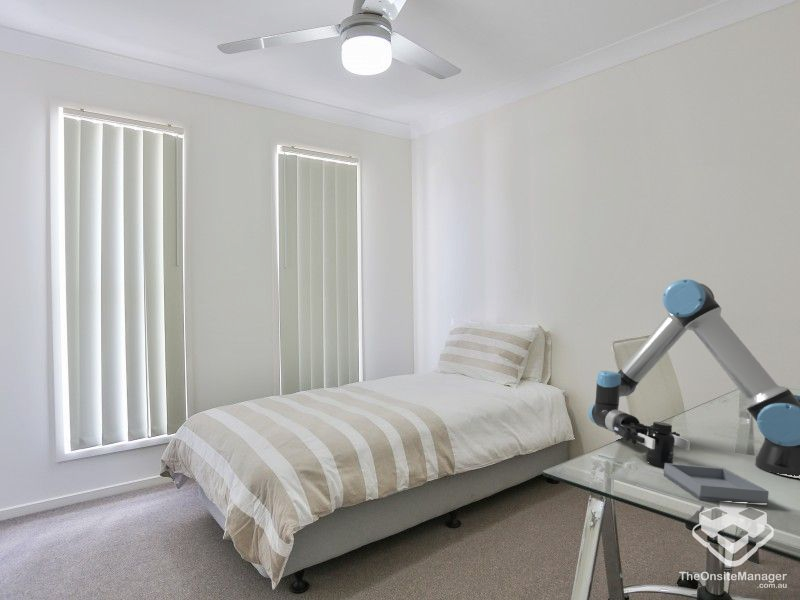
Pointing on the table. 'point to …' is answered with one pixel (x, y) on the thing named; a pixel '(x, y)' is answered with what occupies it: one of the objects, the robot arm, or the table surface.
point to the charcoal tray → (714, 484)
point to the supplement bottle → (661, 445)
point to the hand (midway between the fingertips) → (671, 445)
